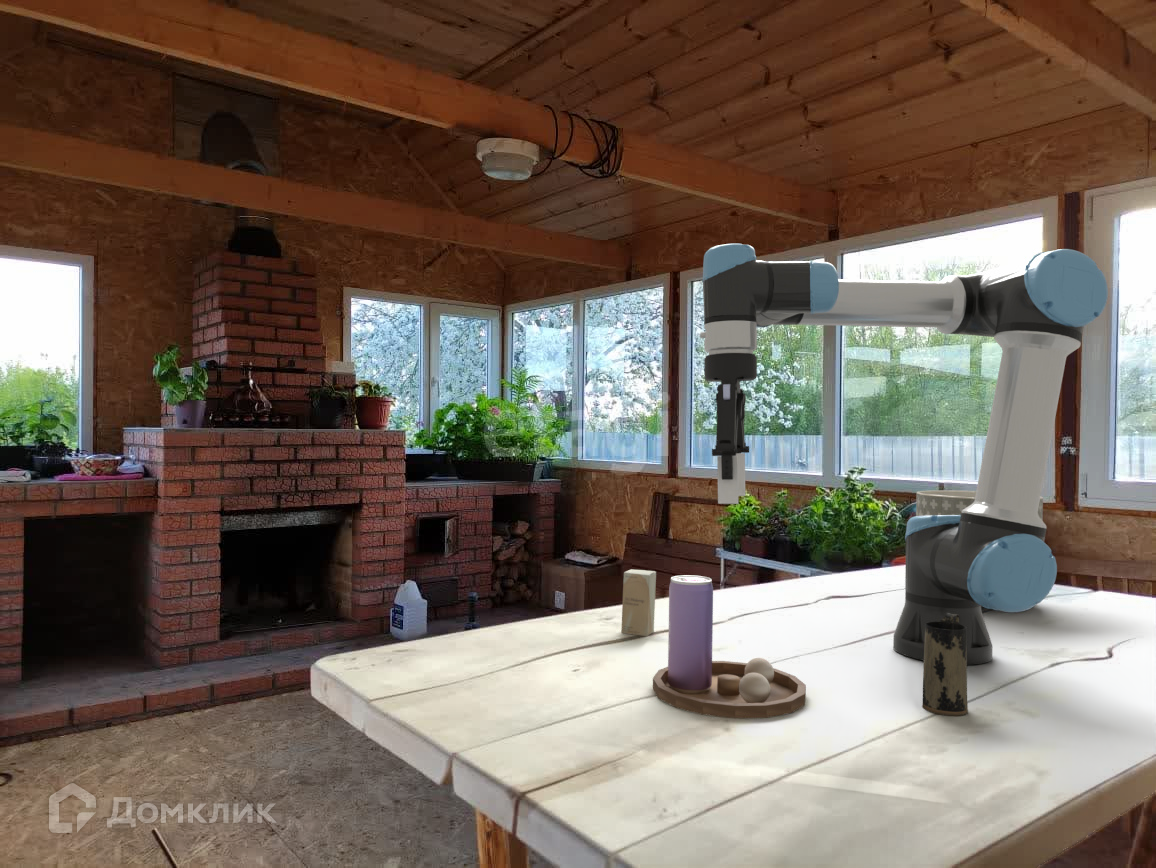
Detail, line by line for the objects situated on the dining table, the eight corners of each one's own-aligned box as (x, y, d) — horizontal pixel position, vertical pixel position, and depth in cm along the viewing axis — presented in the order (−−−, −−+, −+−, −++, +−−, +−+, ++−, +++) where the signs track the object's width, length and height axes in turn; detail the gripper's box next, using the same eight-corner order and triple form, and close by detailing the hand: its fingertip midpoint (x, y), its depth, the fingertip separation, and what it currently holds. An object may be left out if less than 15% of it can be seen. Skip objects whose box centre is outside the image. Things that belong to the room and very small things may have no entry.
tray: (807, 686, 118) (807, 665, 118) (802, 734, 98) (803, 709, 98) (669, 672, 123) (669, 652, 123) (639, 715, 104) (639, 691, 104)
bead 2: (771, 701, 108) (771, 670, 108) (768, 710, 104) (769, 679, 104) (740, 697, 109) (740, 667, 109) (736, 707, 105) (737, 675, 105)
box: (620, 633, 147) (621, 571, 147) (628, 628, 151) (629, 568, 151) (648, 636, 145) (649, 574, 145) (655, 631, 149) (656, 570, 149)
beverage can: (710, 696, 109) (712, 583, 109) (665, 692, 110) (667, 581, 110) (712, 683, 115) (714, 576, 115) (669, 680, 116) (671, 574, 116)
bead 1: (774, 684, 115) (775, 656, 115) (772, 693, 111) (773, 663, 111) (745, 681, 116) (746, 653, 116) (742, 690, 112) (743, 660, 112)
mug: (963, 719, 105) (964, 625, 105) (917, 710, 108) (918, 619, 108) (974, 703, 111) (976, 615, 111) (931, 695, 114) (932, 609, 114)
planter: (1066, 616, 168) (1068, 499, 169) (943, 613, 169) (945, 497, 169) (1004, 592, 194) (1006, 491, 194) (897, 590, 194) (899, 489, 194)
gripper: (713, 361, 132) (715, 492, 132) (693, 346, 108) (695, 507, 108) (761, 359, 130) (763, 493, 130) (750, 343, 106) (753, 507, 106)
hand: (732, 499), depth 119 cm, fingers open, 13 cm apart
